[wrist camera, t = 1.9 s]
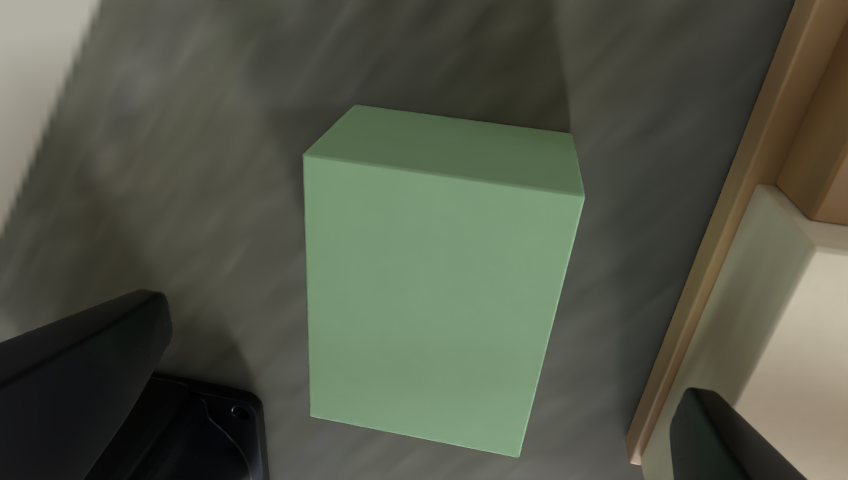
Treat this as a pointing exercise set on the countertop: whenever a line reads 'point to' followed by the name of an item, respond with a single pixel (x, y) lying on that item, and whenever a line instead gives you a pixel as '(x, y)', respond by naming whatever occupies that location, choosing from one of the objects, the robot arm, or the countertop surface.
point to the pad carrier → (772, 269)
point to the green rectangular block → (435, 272)
